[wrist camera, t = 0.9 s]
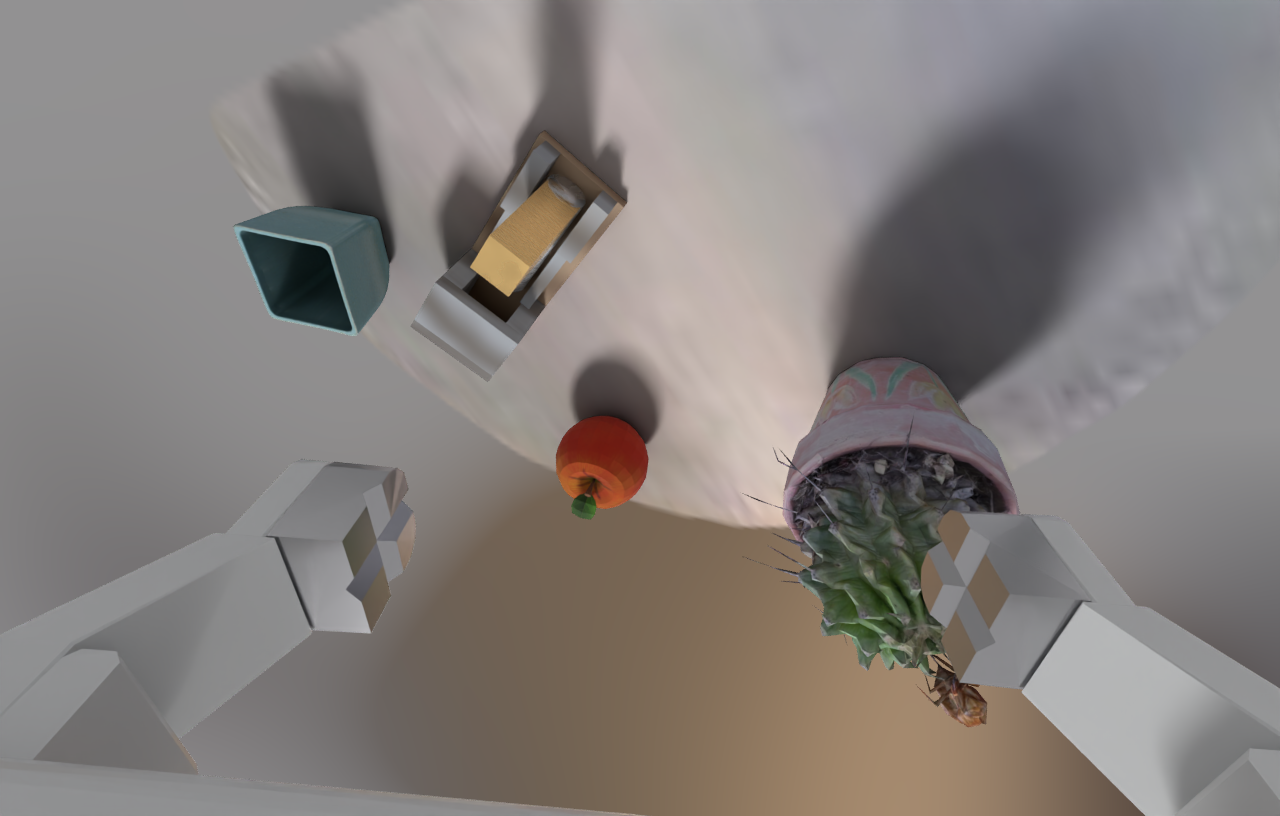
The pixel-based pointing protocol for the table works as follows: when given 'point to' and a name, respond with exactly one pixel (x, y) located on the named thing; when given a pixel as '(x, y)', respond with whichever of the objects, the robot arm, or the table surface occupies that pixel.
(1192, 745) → the robot arm
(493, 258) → the tall wooden block
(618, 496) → the fruit
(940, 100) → the table surface
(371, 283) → the flower pot
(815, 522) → the potted plant
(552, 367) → the table surface
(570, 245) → the rail base
